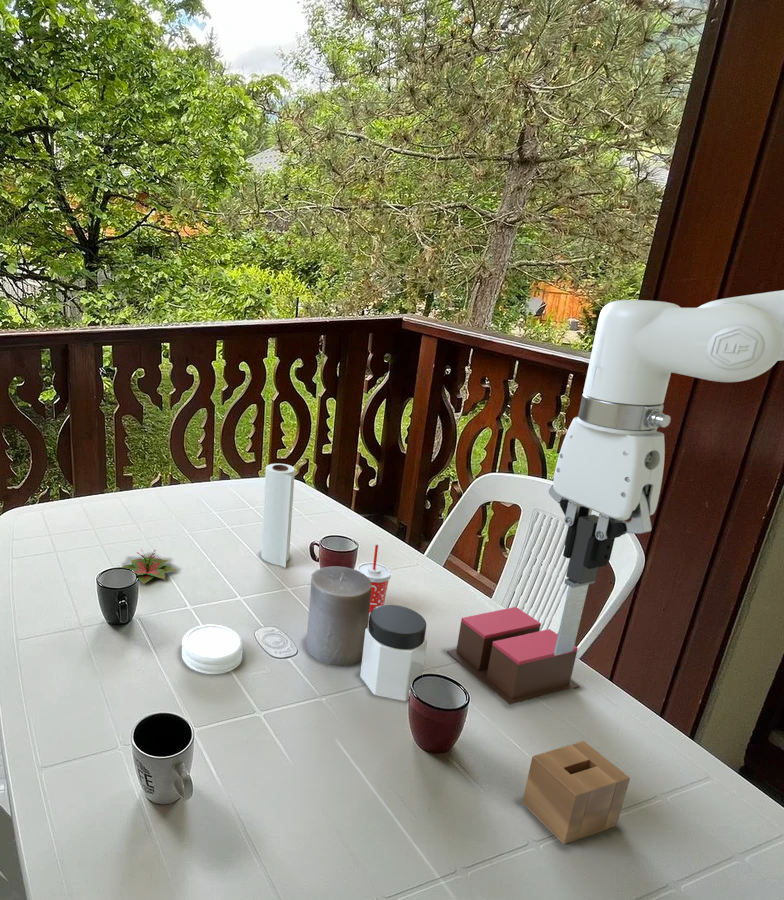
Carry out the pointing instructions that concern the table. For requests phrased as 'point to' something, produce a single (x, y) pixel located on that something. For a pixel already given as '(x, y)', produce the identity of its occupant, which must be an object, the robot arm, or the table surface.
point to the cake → (513, 655)
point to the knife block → (575, 791)
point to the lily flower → (149, 567)
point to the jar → (393, 651)
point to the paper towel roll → (277, 513)
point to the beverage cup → (376, 580)
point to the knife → (576, 585)
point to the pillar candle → (338, 615)
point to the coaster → (212, 649)
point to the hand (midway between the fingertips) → (584, 560)
